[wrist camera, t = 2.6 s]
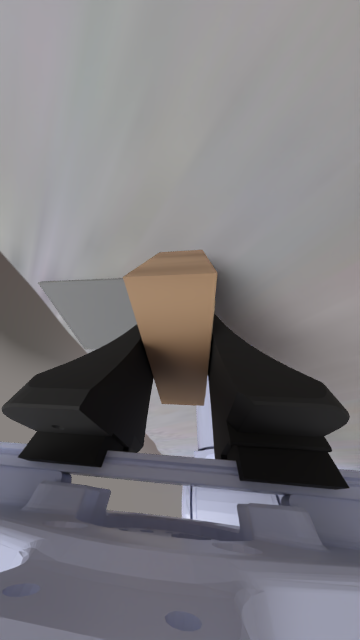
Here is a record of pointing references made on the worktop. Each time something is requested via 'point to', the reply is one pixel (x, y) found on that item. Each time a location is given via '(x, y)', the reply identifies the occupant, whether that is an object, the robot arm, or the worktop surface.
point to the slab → (175, 321)
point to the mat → (92, 308)
